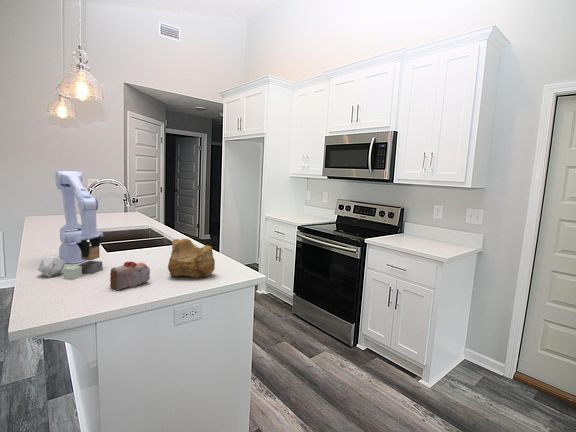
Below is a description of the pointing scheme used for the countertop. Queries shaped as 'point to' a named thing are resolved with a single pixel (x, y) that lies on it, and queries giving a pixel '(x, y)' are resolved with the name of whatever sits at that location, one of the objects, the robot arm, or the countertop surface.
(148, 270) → the food item
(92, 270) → the charcoal base block
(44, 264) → the pale gray rock
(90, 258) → the walnut cube
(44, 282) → the countertop surface
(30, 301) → the countertop surface
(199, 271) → the rough brown rock
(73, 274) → the sage cube
